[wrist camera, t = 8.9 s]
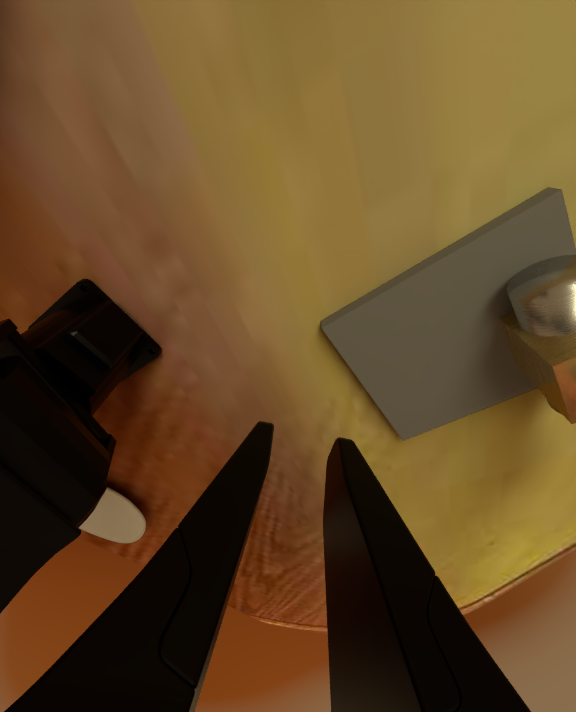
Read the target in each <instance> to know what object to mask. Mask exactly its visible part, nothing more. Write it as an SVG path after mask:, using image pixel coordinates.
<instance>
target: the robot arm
mask: <svg viewBox="0 0 576 712" xmlns="http://www.w3.org/2000/svg"><path fill="white" fill-rule="evenodd" d="M84 285H85V286H87V288H88V290H87V289H85V287H84ZM16 329H17V327H16V326H15V324H14V323H13V322H12V321H11V320H10V319H6V320H3V321H0V613H1V612H2V611H3V610H4V608H5V607H6V606H7V605H8V604H9V603H10V601H11V600H12V599H13V598H14V597H15V595H16V594H17V593H18V592H19V591H20V589H21V588H22V587H23V586H24V585H25V584H26V583H27V582H28V580H29V579H30V578H31V577H32V576H33V575H34V574H35V573H36V572H37V571H38V570H39V569H40V568H41V567H42V566H43V565H44V564H45V563H46V562H47V561H48V560H49V559H50V558H52V557H53V556H54V555H55V554H56V553H57V552H59V551H60V550H61V549H63V548H64V547H65V546H67V545H68V544H69V543H71V542H72V541H74V540H75V539H76V538H77V537H78V536H79V535H80V534H81V530H80V529H79V527H80V526H81V525H82V524H83V523H84V522H85V521H86V520H87V519H88V517H89V516H90V515H91V514H92V512H93V511H94V510H95V508H96V506H97V505H98V503H99V501H100V499H101V498H102V496H103V495H104V493H105V491H106V488H107V483H106V479H107V475H108V471H109V467H110V463H111V460H112V456H113V452H114V448H115V445H116V440H115V439H114V437H113V436H112V435H111V434H108V433H107V432H106V431H105V430H104V429H103V428H102V427H101V426H100V424H99V423H98V422H97V421H96V420H95V419H94V418H93V415H94V413H95V412H96V411H97V409H98V408H99V407H100V406H101V404H102V403H103V402H104V401H105V399H106V398H107V397H108V396H109V394H110V393H111V392H112V391H113V389H114V388H115V387H116V385H117V384H118V383H119V382H121V381H122V380H124V379H125V378H127V377H128V376H130V375H131V374H133V373H134V372H136V371H137V370H138V369H140V368H141V367H143V366H144V365H146V364H147V363H149V362H150V361H152V360H153V359H155V358H156V357H157V356H158V355H159V354H160V352H161V347H160V346H159V345H158V344H157V343H156V342H155V341H154V340H153V339H152V338H151V337H150V336H149V335H148V334H147V333H146V332H144V331H143V330H142V329H141V328H140V327H139V326H138V325H137V324H136V323H135V322H134V321H133V320H132V319H131V318H130V317H129V316H128V315H127V314H126V313H125V312H123V311H122V310H121V309H120V308H119V307H118V306H117V305H116V304H115V303H114V302H113V301H112V300H111V299H110V298H109V297H108V296H107V295H106V294H105V293H104V292H103V291H101V290H100V289H99V288H98V287H97V286H96V285H95V284H94V283H93V282H92V281H90V280H88V279H82V280H80V281H79V282H77V283H76V284H75V285H74V286H73V287H72V288H71V289H70V290H68V291H67V292H66V293H65V294H64V295H63V296H62V297H61V298H60V299H59V300H58V301H57V302H55V303H54V304H53V305H52V306H51V307H50V308H49V309H48V310H47V311H46V312H45V313H44V314H42V315H41V316H40V317H39V318H38V319H37V320H36V321H35V322H34V323H33V324H32V325H31V326H29V328H28V330H27V331H25V332H24V333H22V334H21V335H20V334H19V332H18V331H17V330H16ZM150 348H151V349H154V350H155V352H154V351H152V350H151V349H150ZM273 431H274V425H273V424H272V423H267V422H262V421H259V422H258V423H257V424H256V425H255V427H254V428H253V429H252V430H251V432H250V433H249V434H248V436H247V437H246V438H245V440H244V441H243V442H242V443H241V445H240V446H239V447H238V449H237V450H236V451H235V453H234V454H233V455H232V456H231V458H230V459H229V460H228V462H227V463H226V464H225V465H224V467H223V468H222V469H221V471H220V472H219V473H218V475H217V476H216V477H215V478H214V480H213V481H212V482H211V484H210V485H209V486H208V487H207V489H206V490H205V491H204V493H203V494H202V495H201V497H200V498H199V499H198V500H197V502H196V503H195V504H194V506H193V507H192V508H191V509H190V511H189V512H188V513H187V515H186V516H185V517H184V519H183V520H182V521H181V522H180V524H179V525H178V528H176V529H175V530H174V531H173V532H172V534H171V535H170V536H169V538H168V539H167V540H166V542H165V543H164V544H163V545H162V547H161V548H160V549H159V550H158V551H157V553H156V554H155V555H154V556H153V558H152V559H151V560H150V561H149V562H148V564H147V565H146V566H145V567H144V569H143V570H142V571H141V572H140V573H139V574H138V575H137V576H136V577H135V579H134V580H133V581H132V582H131V583H130V584H129V585H128V586H127V587H126V588H125V589H124V591H123V592H122V593H121V594H120V595H119V596H118V597H117V598H116V599H115V600H114V601H113V602H112V603H111V604H110V605H109V607H108V608H107V609H106V610H105V611H104V612H103V613H102V614H101V615H100V616H99V617H98V618H97V619H96V620H95V621H94V622H93V623H92V624H91V625H90V626H89V628H88V629H87V630H86V631H85V632H84V633H83V634H82V635H81V636H80V637H79V638H78V639H77V640H76V641H75V642H74V643H73V644H72V645H71V646H70V647H69V649H68V650H67V651H66V652H65V653H64V654H63V655H62V656H61V657H60V658H59V659H58V660H57V661H56V662H55V663H54V664H53V665H52V666H51V667H50V668H49V669H48V670H47V671H46V672H45V673H44V674H43V676H42V677H40V678H39V680H37V682H35V684H33V685H32V686H31V687H30V688H29V689H28V690H27V691H26V692H25V693H24V694H23V695H22V696H21V697H20V698H19V699H18V700H16V701H15V702H14V703H13V704H12V705H11V706H10V707H9V708H8V709H7V710H5V711H4V712H195V708H196V705H197V702H198V699H199V695H200V692H201V689H202V686H203V682H204V678H205V676H206V673H207V669H208V666H209V663H210V660H211V656H212V653H213V649H214V647H215V643H216V640H217V637H218V634H219V630H220V627H221V624H222V620H223V617H224V614H225V611H226V608H227V604H228V601H229V598H230V595H231V591H232V588H233V585H234V582H235V578H236V575H237V572H238V569H239V565H240V562H241V559H242V555H243V552H244V549H245V546H246V542H247V539H248V536H249V533H250V529H251V526H252V523H253V520H254V516H255V513H256V509H257V506H258V502H259V499H260V495H261V491H262V488H263V484H264V481H265V477H266V474H267V470H268V466H269V462H270V455H271V447H272V439H273ZM323 537H324V560H325V582H326V605H327V627H328V649H329V672H330V692H331V693H330V694H331V712H531V711H530V710H529V708H528V707H527V705H526V704H525V703H524V701H523V700H522V698H521V697H520V696H519V694H518V693H517V692H516V690H515V689H514V687H513V686H512V685H511V683H510V682H509V681H508V679H507V678H506V677H505V675H504V674H503V672H502V671H501V669H500V668H499V667H498V665H497V664H496V663H495V661H494V660H493V658H492V657H491V656H490V654H489V653H488V651H487V650H486V648H485V647H484V646H483V644H482V643H481V641H480V640H479V638H478V637H477V636H476V634H475V633H474V631H473V630H472V628H471V627H470V626H469V624H468V623H467V621H466V620H465V618H464V616H463V615H462V613H461V612H460V610H459V609H458V607H457V606H456V604H455V603H454V601H453V599H452V598H451V596H450V595H449V593H448V592H447V590H446V588H445V587H444V585H443V584H442V582H441V580H440V579H439V577H438V576H435V571H434V569H433V568H432V566H431V565H430V563H429V561H428V560H427V558H426V557H425V555H424V553H423V552H422V550H421V549H420V547H419V545H418V544H417V542H416V541H415V539H414V537H413V536H412V534H411V533H410V531H409V529H408V528H407V526H406V525H405V523H404V521H403V520H402V518H401V517H400V515H399V513H398V512H397V510H396V509H395V507H394V505H393V504H392V502H391V501H390V499H389V497H388V496H387V494H386V493H385V491H384V489H383V488H382V486H381V485H380V483H379V481H378V480H377V478H376V476H375V475H374V473H373V472H372V470H371V468H370V467H369V465H368V464H367V462H366V460H365V459H364V457H363V456H362V454H361V452H360V451H359V449H358V448H357V446H356V444H355V443H354V442H353V441H352V440H350V439H345V438H340V437H339V438H337V439H336V440H335V443H334V445H333V447H332V449H331V452H330V454H329V456H328V460H327V467H326V482H325V497H324V512H323Z"/></svg>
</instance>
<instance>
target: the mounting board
mask: <svg viewBox="0 0 576 712" xmlns="http://www.w3.org/2000/svg"><path fill="white" fill-rule="evenodd" d="M564 255H576V248H575V244H574V240H573V236H572V231H571V227H570V223H569V218H568V214H567V210H566V206H565V201H564V197H563V193H562V190H561V189H555V188H549V187H548V188H547V189H545V190H543V191H541V192H540V193H538V194H536V195H535V196H533V197H531V198H530V199H528V200H526V201H524V202H523V203H521V204H519V205H518V206H516V207H514V208H513V209H511V210H509V211H507V212H506V213H504V214H502V215H501V216H499V217H497V218H495V219H494V220H492V221H490V222H489V223H487V224H485V225H484V226H482V227H480V228H478V229H477V230H475V231H473V232H472V233H470V234H468V235H467V236H465V237H463V238H461V239H460V240H458V241H456V242H455V243H453V244H451V245H450V246H448V247H446V248H444V249H443V250H441V251H439V252H438V253H436V254H434V255H432V256H431V257H429V258H427V259H426V260H424V261H422V262H421V263H419V264H417V265H415V266H414V267H412V268H410V269H409V270H407V271H405V272H404V273H402V274H400V275H398V276H397V277H395V278H393V279H392V280H390V281H388V282H386V283H385V284H383V285H381V286H380V287H378V288H376V289H375V290H373V291H371V292H369V293H368V294H366V295H364V296H363V297H361V298H359V299H358V300H356V301H354V302H352V303H351V304H349V305H347V306H346V307H344V308H342V309H341V310H339V311H337V312H335V313H334V314H332V315H330V316H329V317H327V318H325V319H323V320H322V321H321V328H322V330H323V331H324V333H325V334H326V335H327V337H328V338H329V339H330V341H331V342H332V344H333V345H334V346H335V348H336V349H337V350H338V352H339V353H340V355H341V356H342V357H343V359H344V360H345V362H346V363H347V364H348V366H349V367H350V368H351V370H352V371H353V373H354V374H355V375H356V377H357V378H358V379H359V381H360V382H361V384H362V385H363V386H364V388H365V389H366V391H367V392H368V393H369V395H370V396H371V397H372V399H373V400H374V402H375V403H376V404H377V406H378V407H379V409H380V410H381V411H382V413H383V414H384V415H385V417H386V418H387V420H388V421H389V422H390V424H391V425H392V426H393V428H394V429H395V431H396V432H397V433H398V435H399V436H400V438H401V439H402V440H403V441H404V440H406V439H409V438H411V437H414V436H417V435H419V434H422V433H424V432H427V431H429V430H432V429H434V428H437V427H439V426H442V425H444V424H447V423H450V422H452V421H455V420H457V419H460V418H462V417H465V416H467V415H470V414H472V413H475V412H478V411H480V410H483V409H485V408H488V407H490V406H493V405H495V404H498V403H500V402H503V401H505V400H508V399H511V398H513V397H516V396H518V395H521V394H523V393H526V392H528V391H531V390H533V389H536V388H537V387H536V386H535V385H534V384H533V383H532V382H531V381H530V380H529V379H528V378H527V377H526V376H525V375H524V374H523V373H522V372H521V371H520V370H519V368H518V366H517V363H516V361H515V358H514V356H513V353H512V351H511V348H510V346H509V343H508V341H507V338H506V336H505V333H504V331H503V328H502V326H501V323H500V321H499V318H501V317H503V316H505V315H507V314H509V313H511V312H513V311H514V309H513V306H512V303H511V301H510V298H509V295H508V292H507V286H508V283H509V282H510V280H511V279H512V278H513V277H514V276H515V275H516V274H517V273H519V272H520V271H522V270H523V269H525V268H527V267H528V266H530V265H533V264H535V263H537V262H540V261H543V260H546V259H549V258H553V257H558V256H564Z"/></svg>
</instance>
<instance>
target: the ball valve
mask: <svg viewBox="0 0 576 712" xmlns="http://www.w3.org/2000/svg"><path fill="white" fill-rule="evenodd" d="M507 292H508V295H509V298H510V301H511V303H512V306H513V309H514V311H513V312H511V313H509V314H507V315H505V316H503V317H501V318H499V321H500V323H501V326H502V328H503V331H504V333H505V336H506V338H507V341H508V343H509V346H510V348H511V351H512V353H513V356H514V358H515V361H516V363H517V366H518V368H519V370H520V371H521V372H522V373H523V374H524V375H525V376H526V377H527V378H528V379H529V380H530V381H531V382H532V383H533V384H534V385H535V386H536V387H537V388H538V390H539V391H540V392H541V393H542V394H543V395H544V396H545V397H546V399H547V402H548V404H549V405H550V407H551V408H552V409H554V410H555V411H556V412H558V413H560V414H562V415H563V416H564V417H565V418H566V419H567V420H568V421H569V422H570V423H571V424H573V423H576V255H564V256H558V257H553V258H549V259H546V260H543V261H540V262H537V263H535V264H533V265H530V266H528V267H527V268H525V269H523V270H522V271H520V272H519V273H517V274H516V275H515V276H514V277H513V278H512V279H511V280H510V282H509V283H508V286H507Z"/></svg>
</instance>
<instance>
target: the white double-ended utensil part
mask: <svg viewBox="0 0 576 712" xmlns="http://www.w3.org/2000/svg"><path fill="white" fill-rule="evenodd" d="M79 528H80V529H82V530H84V531H86V532H88V533H91V534H93V535H96V536H99V537H101V538H104V539H107V540H110V541H114V542H118V543H132V542H135V541H137V540H138V539H140V538H141V537H142V535H143V534H144V532H145V530H146V520H145V518H144V516H143V514H142V513H141V512H140V510H139V509H138V508H137V507H136V506H135V505H134V504H133V503H132V502H131V501H129V500H128V499H127V498H126V497H124V496H123V495H121V494H120V493H118V492H116V491H114V490H112V489H110V488H108V487H107V488H106V491H105V493H104V495H103V496H102V498H101V499H100V501H99V503H98V505H97V506H96V508H95V510H94V511H93V512H92V514H91V515H90V516H89V517H88V519H87V520H86V521H85V522H84V523H83V524H82V525H81V526H80V527H79Z"/></svg>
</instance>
